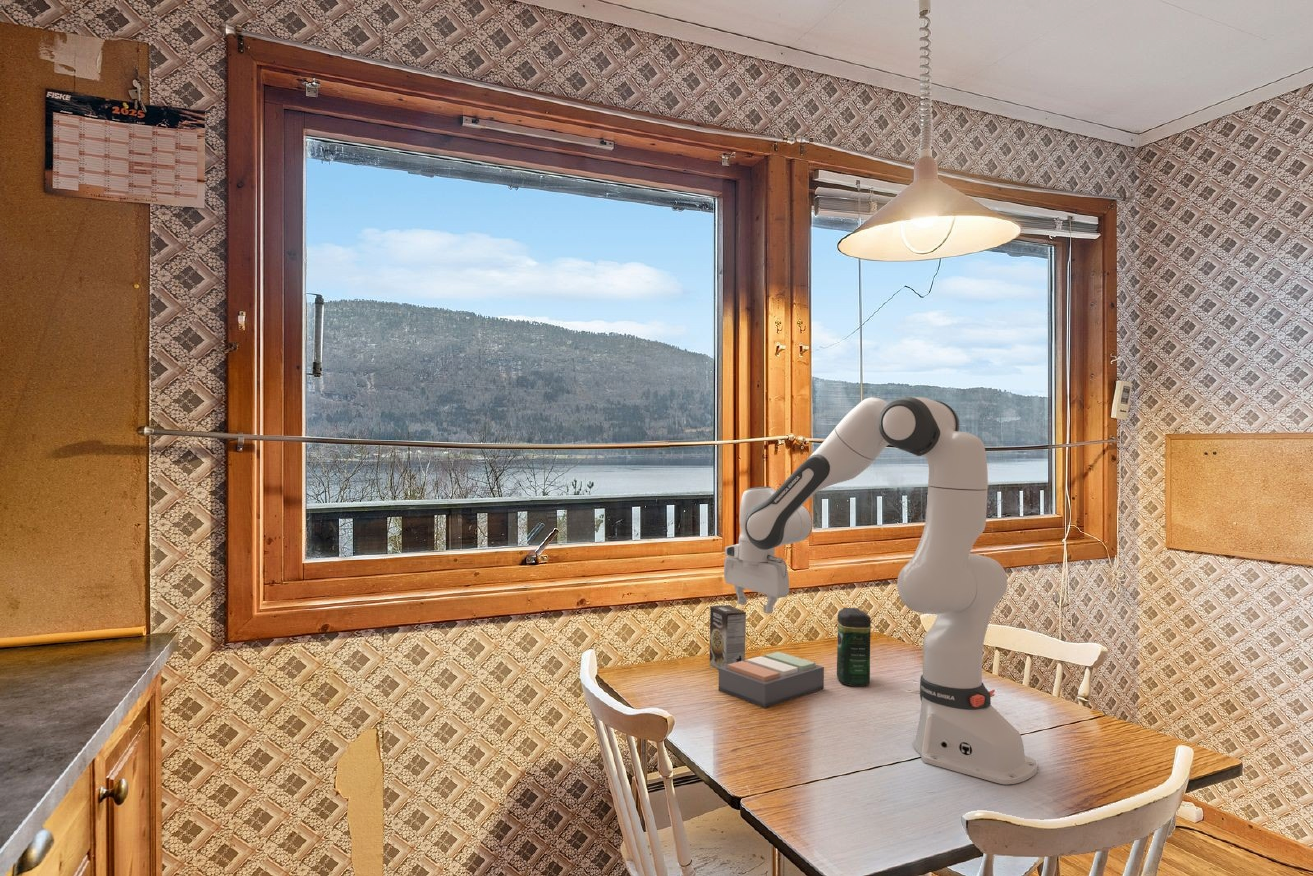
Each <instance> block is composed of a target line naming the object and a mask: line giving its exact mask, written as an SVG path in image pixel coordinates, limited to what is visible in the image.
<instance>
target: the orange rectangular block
mask: <svg viewBox="0 0 1313 876" xmlns="http://www.w3.org/2000/svg"><path fill="white" fill-rule="evenodd" d="M727 669H728V670H731V671H734V672H737V673H740V674H743V675H746V676H749V677H752V678H755V679H757V680H760V681H763V682H766V681H770V680H773V679H777V678H779V673H778V672H775V671H772V670H769V669H766V668H763V667H760V666H757V665H753V664H750V663H747V662H744V661H739V662H736V663H732V664H728V665H727Z"/></svg>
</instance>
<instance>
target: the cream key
mask: <svg viewBox="0 0 1313 876" xmlns="http://www.w3.org/2000/svg"><path fill="white" fill-rule="evenodd" d="M746 661H747V663H750V664H753V665H757V666H760V667H763V668H766V669H769V670H772V671H775V672H778V673H779V675H781V676H787V675H791V674H794V673H797V672H798V668H797V667H794V666H791V665H788V664H784V663H781V662H778V661H775V660H771V659H768V658H765V657H764V656H762V655H760V656H755V657H752V658H748V659H746Z"/></svg>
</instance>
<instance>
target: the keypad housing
mask: <svg viewBox="0 0 1313 876" xmlns="http://www.w3.org/2000/svg"><path fill="white" fill-rule="evenodd" d="M763 657H765V655H764V656H763ZM745 662H747V660H745ZM824 683H825V667H824V666H822V665H818V664H815V668H811V669H808V670H804V671H800V670H798V672H797V673H794V674H791V675H787V676H781V675H779V678H777V679H773V680H770V681H766V682H763V681H760V680H757V679H755V678H752V677H749V676H746V675H743V674H740V673H737V672H734V671H731V670H728V669H727V666H726V667H722V668H719V669H718V692H721V693H724V694H727V695H730V696H732V697H734V698H737V699H740V700H742V701H744V702H748V703H750V704H752V705H755V706H757V707H761V708H763V709H767V708H771V707H773V706H776V705H779V704H782V703H785V702H789V701H792V700H795V699H799V698H801V697H804V696H807V695H809V694H813V693H816V692H819V691H821V690H824V689H825V688H824V687H825V686H824Z"/></svg>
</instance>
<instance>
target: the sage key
mask: <svg viewBox="0 0 1313 876" xmlns="http://www.w3.org/2000/svg"><path fill="white" fill-rule="evenodd" d="M764 656H765V658H768V659H771V660H775V661H778V662H781V663H784V664H788V665H791V666H794V667H797V668H798V670H800V671H804V670H808V669H811V668H815V665H816V662H814V661H811V660H809V659H804V658H800V657H797V656H794V655H791V654H787V653H784V652H780V651H775V652H772V653H767V654H764Z"/></svg>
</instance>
